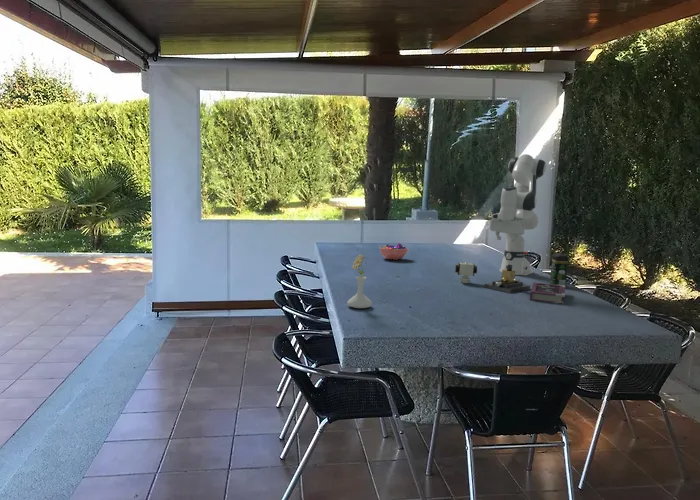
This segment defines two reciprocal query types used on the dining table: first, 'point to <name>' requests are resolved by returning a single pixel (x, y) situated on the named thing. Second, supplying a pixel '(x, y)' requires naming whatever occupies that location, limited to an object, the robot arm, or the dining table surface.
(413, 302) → the dining table surface
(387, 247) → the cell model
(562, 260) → the coffee jar
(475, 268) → the pneumatic valve
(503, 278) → the brass valve
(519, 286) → the plate
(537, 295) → the book
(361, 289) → the flower in vase
